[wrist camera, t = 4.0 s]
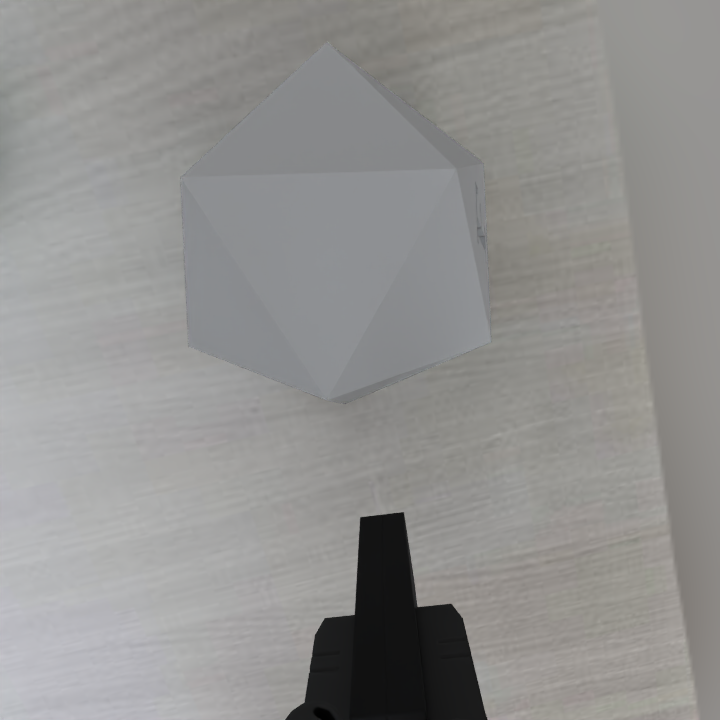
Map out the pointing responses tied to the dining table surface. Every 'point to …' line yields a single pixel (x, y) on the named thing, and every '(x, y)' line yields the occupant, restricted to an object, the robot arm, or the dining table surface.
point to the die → (336, 238)
